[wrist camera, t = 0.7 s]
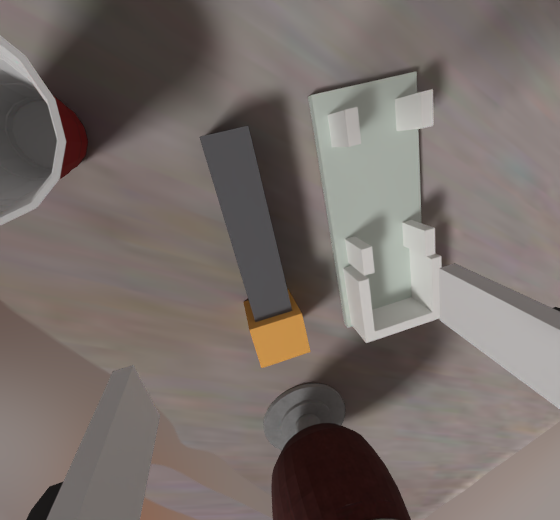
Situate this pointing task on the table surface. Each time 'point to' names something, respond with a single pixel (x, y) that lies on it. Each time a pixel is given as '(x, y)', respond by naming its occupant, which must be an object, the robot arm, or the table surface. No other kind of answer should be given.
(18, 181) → the plastic cup
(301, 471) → the mate gourd
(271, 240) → the bar
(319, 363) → the table surface
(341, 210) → the board
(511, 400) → the table surface
